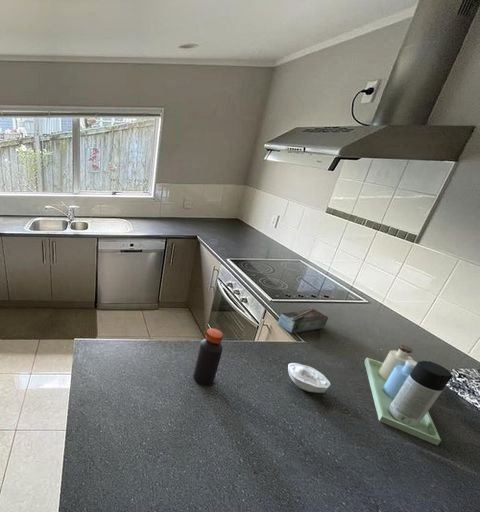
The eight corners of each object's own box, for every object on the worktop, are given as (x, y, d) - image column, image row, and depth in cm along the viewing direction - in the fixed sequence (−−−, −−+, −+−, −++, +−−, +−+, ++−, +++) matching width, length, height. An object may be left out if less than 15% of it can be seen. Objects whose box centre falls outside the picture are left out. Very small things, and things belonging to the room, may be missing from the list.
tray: (407, 377, 102) (410, 372, 101) (436, 446, 78) (441, 440, 77) (363, 362, 108) (366, 357, 107) (378, 422, 85) (381, 416, 84)
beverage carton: (276, 323, 130) (280, 311, 128) (309, 318, 135) (313, 307, 132) (290, 333, 123) (295, 321, 121) (325, 329, 127) (330, 316, 125)
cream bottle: (398, 376, 101) (416, 346, 96) (402, 387, 97) (421, 356, 92) (376, 368, 105) (392, 339, 99) (379, 378, 100) (396, 348, 95)
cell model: (323, 405, 90) (331, 390, 87) (280, 384, 97) (286, 369, 94) (326, 386, 97) (334, 372, 94) (286, 368, 104) (292, 354, 101)
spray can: (424, 428, 83) (461, 377, 75) (401, 427, 83) (436, 376, 75) (402, 408, 89) (434, 359, 81) (381, 407, 89) (410, 358, 81)
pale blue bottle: (404, 393, 95) (424, 362, 89) (409, 405, 90) (430, 373, 85) (380, 384, 98) (398, 353, 92) (384, 395, 93) (403, 364, 88)
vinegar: (196, 368, 102) (206, 323, 94) (215, 377, 98) (228, 331, 91) (190, 380, 97) (201, 334, 89) (210, 390, 93) (223, 342, 86)
